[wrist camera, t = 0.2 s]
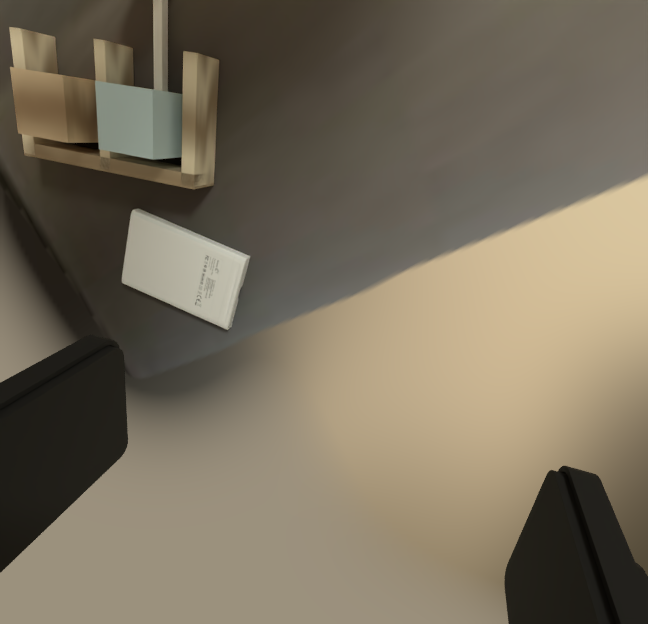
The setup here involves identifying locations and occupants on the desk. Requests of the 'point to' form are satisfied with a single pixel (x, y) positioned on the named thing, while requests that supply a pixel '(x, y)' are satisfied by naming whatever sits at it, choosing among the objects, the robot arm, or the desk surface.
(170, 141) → the block
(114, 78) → the shelf lanes
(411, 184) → the desk surface
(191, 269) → the external hard drive
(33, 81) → the plain block
